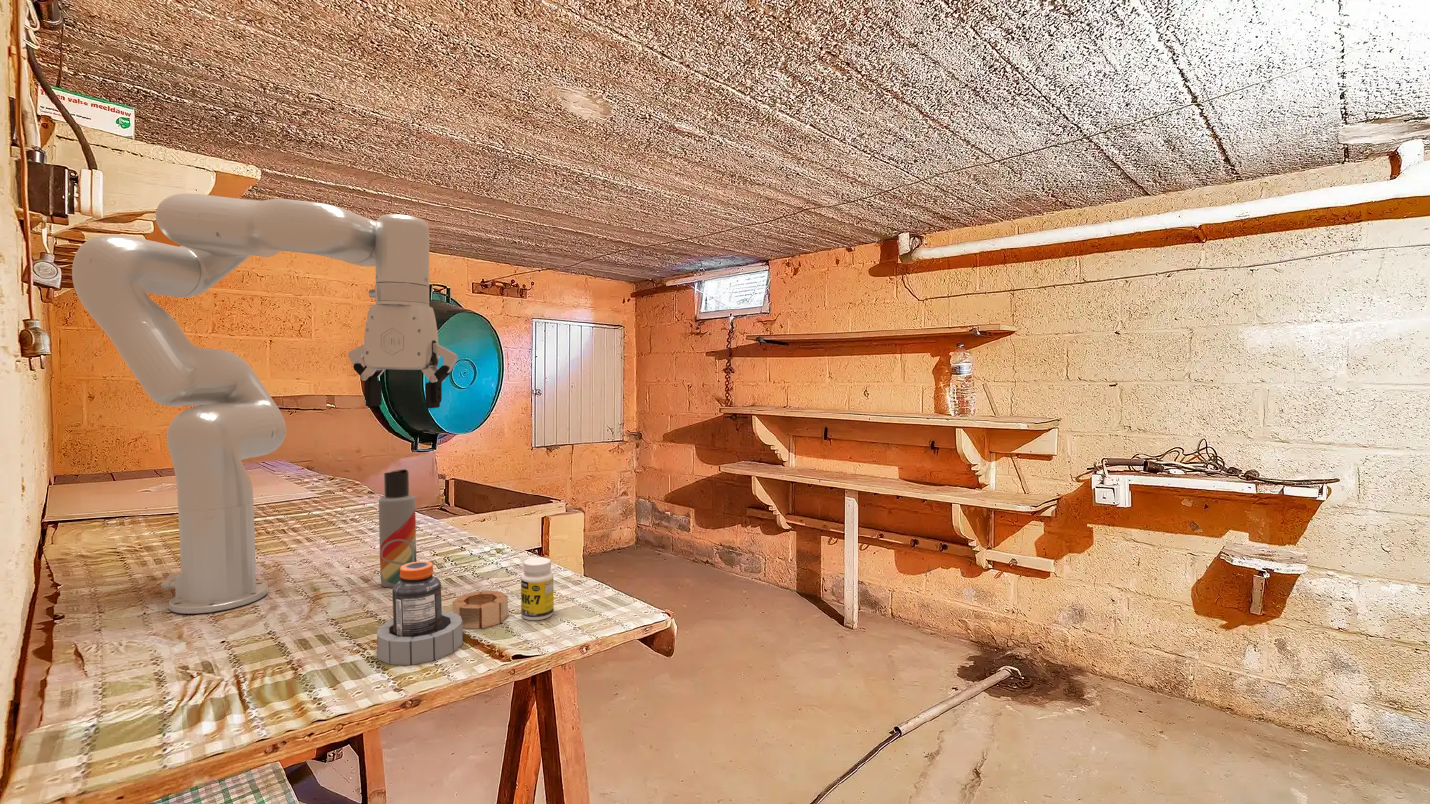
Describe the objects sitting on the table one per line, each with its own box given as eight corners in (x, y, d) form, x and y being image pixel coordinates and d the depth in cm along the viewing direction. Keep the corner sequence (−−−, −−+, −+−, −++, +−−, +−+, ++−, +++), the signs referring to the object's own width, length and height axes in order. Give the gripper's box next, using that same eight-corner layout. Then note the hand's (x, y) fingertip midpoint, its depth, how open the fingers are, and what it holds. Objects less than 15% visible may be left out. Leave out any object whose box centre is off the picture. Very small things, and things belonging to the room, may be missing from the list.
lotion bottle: (402, 589, 109) (399, 472, 108) (373, 587, 110) (370, 471, 109) (423, 578, 114) (421, 467, 113) (395, 576, 115) (393, 466, 114)
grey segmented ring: (360, 663, 81) (360, 640, 81) (404, 630, 92) (403, 610, 91) (439, 665, 81) (439, 642, 81) (474, 632, 91) (474, 611, 91)
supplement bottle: (514, 618, 96) (513, 563, 96) (533, 607, 101) (533, 555, 100) (541, 623, 94) (541, 567, 94) (559, 611, 99) (559, 558, 98)
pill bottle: (411, 636, 90) (410, 556, 89) (451, 639, 89) (449, 558, 88) (384, 655, 84) (381, 570, 83) (426, 658, 83) (424, 572, 82)
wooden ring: (445, 628, 92) (445, 607, 92) (467, 609, 100) (467, 590, 100) (495, 629, 92) (494, 609, 92) (513, 610, 99) (513, 591, 99)
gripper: (333, 293, 96) (334, 406, 97) (444, 295, 95) (444, 410, 96) (364, 299, 104) (365, 404, 105) (467, 300, 103) (467, 407, 103)
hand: (403, 406), depth 100 cm, fingers open, 9 cm apart
